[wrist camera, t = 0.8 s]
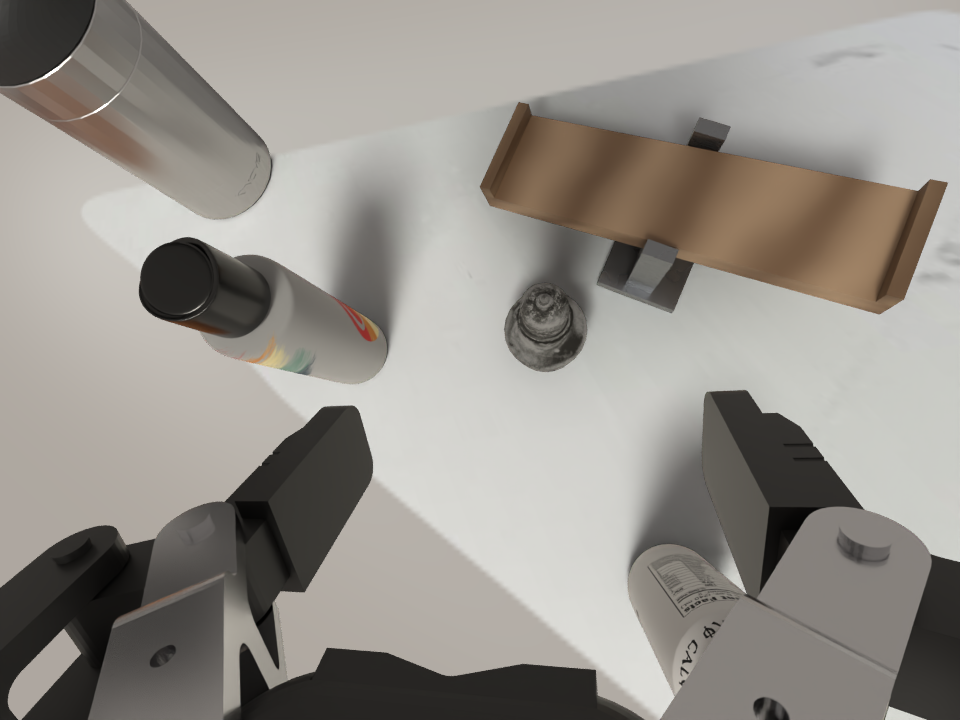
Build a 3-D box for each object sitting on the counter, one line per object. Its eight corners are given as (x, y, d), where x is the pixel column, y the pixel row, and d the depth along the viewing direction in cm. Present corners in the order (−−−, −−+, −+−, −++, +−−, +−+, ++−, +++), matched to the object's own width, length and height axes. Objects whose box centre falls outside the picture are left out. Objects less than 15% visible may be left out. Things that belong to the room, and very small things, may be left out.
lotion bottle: (359, 304, 41) (182, 185, 21) (402, 352, 39) (257, 274, 20) (310, 350, 41) (87, 275, 21) (352, 399, 39) (157, 369, 20)
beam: (490, 205, 37) (479, 186, 35) (526, 126, 38) (518, 102, 35) (879, 314, 28) (903, 299, 25) (920, 207, 29) (947, 182, 26)
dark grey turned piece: (509, 302, 39) (492, 246, 27) (584, 302, 38) (599, 245, 26) (507, 374, 38) (488, 350, 26) (583, 376, 37) (599, 352, 25)
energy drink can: (613, 608, 34) (661, 740, 20) (641, 527, 35) (708, 598, 20) (698, 645, 33) (815, 815, 19) (725, 561, 34) (861, 662, 19)
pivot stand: (596, 284, 38) (607, 250, 31) (649, 162, 39) (672, 100, 31) (671, 313, 37) (701, 284, 30) (724, 185, 38) (765, 127, 30)
